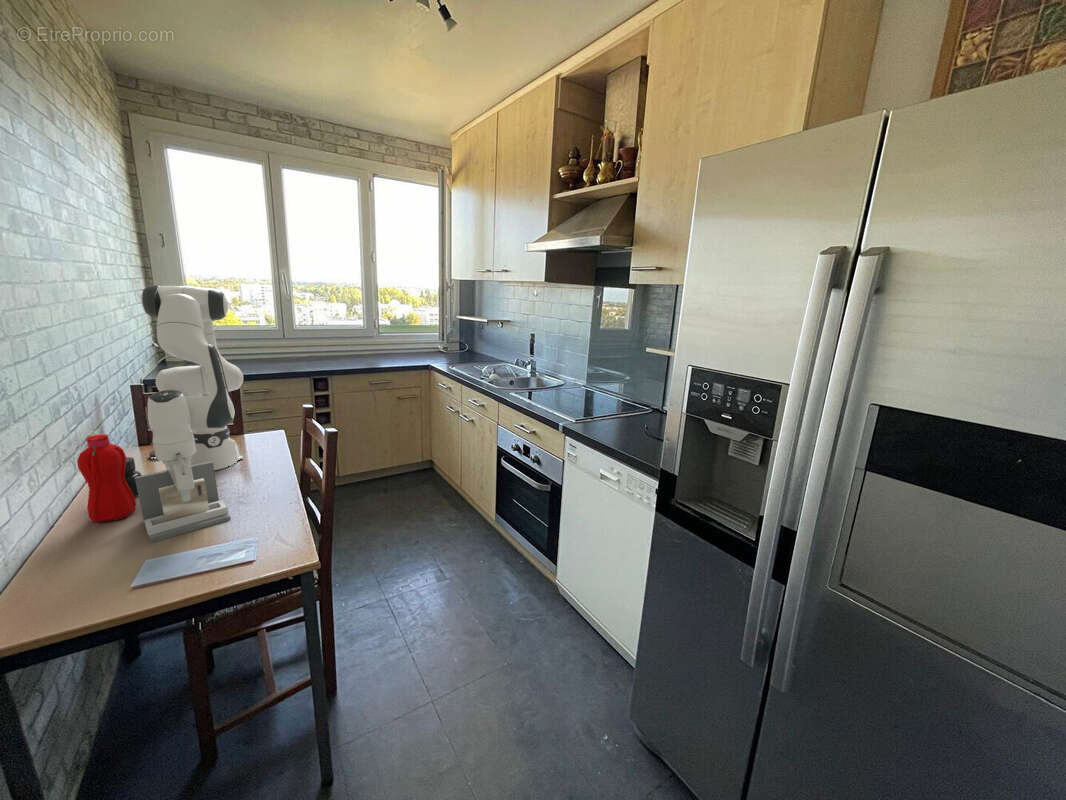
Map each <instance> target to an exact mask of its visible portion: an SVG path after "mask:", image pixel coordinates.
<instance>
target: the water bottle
mask: <svg viewBox="0 0 1066 800" xmlns="http://www.w3.org/2000/svg"><path fill="white" fill-rule="evenodd" d="M86 442H87V446H88V447H87V448H85V449H84V450H83V451H82V452H80V454H79V456H78V457H77V460H76V463H77V469H78V470H79V472H80V474H81V475H82V477H83V479H84V480H85V482H86V483H87V486H88V497H87V506H86V508H87V513H88V517H89V518H88V519H89V520H90V521H91V522H93V523H103V522H105V523H106V522H111V521H119V520H122V519H124V518H125V519H126V518H127V517H128V516H130V515H131V514H132V513H133V511H135V510H136V505H137V502H136V497H134V495H133V493H132V491H131V490H130V488H129V486H128V484H127V482H126V481H125V464H126V457H127V455H126V454H125V451H124V449H123V448H122V447H121V446H119V445H117V444H114V443H113V444H112V443H110V439H109V436H108V434H103V433H102V434H93V435H91V436H87V437H86Z"/></svg>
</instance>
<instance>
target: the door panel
mask: <svg viewBox="0 0 1066 800" xmlns="http://www.w3.org/2000/svg"><path fill="white" fill-rule="evenodd" d="M159 493H160V498H161V504H162V509H163V514H164V519H165V522H168V521H171V520H175V519H179V518H182V517H186V516H190V515H194V514H197V513H201V512H205V511H208V510H209V504H208V498H207V492H206V486H205V480H204V479H203V478H202V479H198V480H194V489H191V490H190V498H191V500H190V501H186V502H183V501H182V497H181V492H179V491H178V490H177V488H176V486H175V485H171V486H166V487H162V488H159Z"/></svg>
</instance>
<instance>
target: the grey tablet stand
mask: <svg viewBox="0 0 1066 800" xmlns="http://www.w3.org/2000/svg"><path fill="white" fill-rule="evenodd" d="M191 469H192V474H193V479H194V480H198V479H202V478H203V479H204V480H205V486H206V492H207V498H208V504H209V510H208V511H205V512H201V513H197V514H194V515H190V516H186V517H182V518H179V519H175V520H171V521H168V522H165V519H164V514H163V509H162V504H161V498H160V493H159V488H162V487H166V486H171V485H175V484H174V482H173V480H172V478H171V476H170V474H169V472H168V470H167V469H166V470H161V471H157V472H151V473H148V474H141V476H136V477H135V481H136V486H137V491H138V496H137V497H138V499H139V505H140V509H141V514H142V515H141V516H142V520H143V524H144V527H145V530H147V531H146V533H147V536H148V540H149V543H150V544H151V542H152V543H155V542H158V541H162V540H165V539H169V538H172V537H175V536H179V535H182V534H186V533H190V532H192V531H195V530H196V531H197V530H200V529H204V528H206V527H210V526H213V525H218V524H220V523H223V522H226V521H230V520H231V516H230V514H229V511H228V507H227V505H226V503H225V502H224V501H223V500H222V499H219V493H218V487H217V485H218V484H217V479H216V472H215V470H214V465H213V462H212V461H210V462H205V463H200V464H195V465H191Z"/></svg>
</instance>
